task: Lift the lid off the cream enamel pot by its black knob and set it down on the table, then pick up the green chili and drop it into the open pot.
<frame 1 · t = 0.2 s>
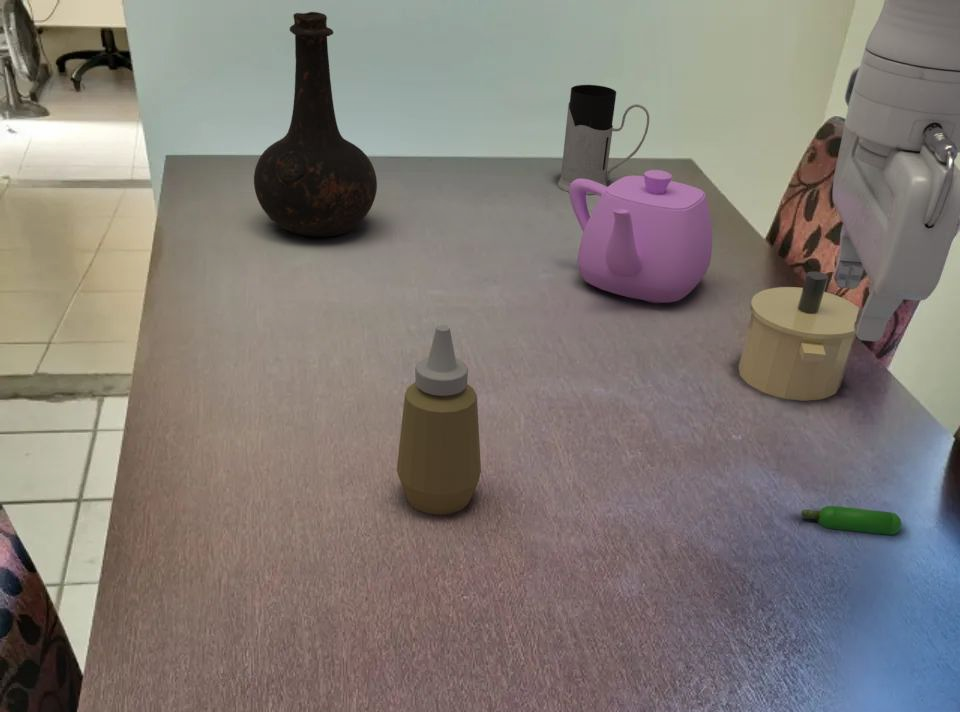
hand: (854, 309, 73), 25 cm above the table, tool pointing down, fingers open, 8 cm apart
pot: (787, 381, 119), on the table
glass holder: (597, 189, 170), on the table
lid: (806, 314, 113), point 8 cm above the table, touching pot
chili: (855, 531, 95), on the table
glass bottle: (318, 228, 149), on the table
squeeze bottle: (438, 504, 96), on the table
teapot: (638, 288, 138), on the table
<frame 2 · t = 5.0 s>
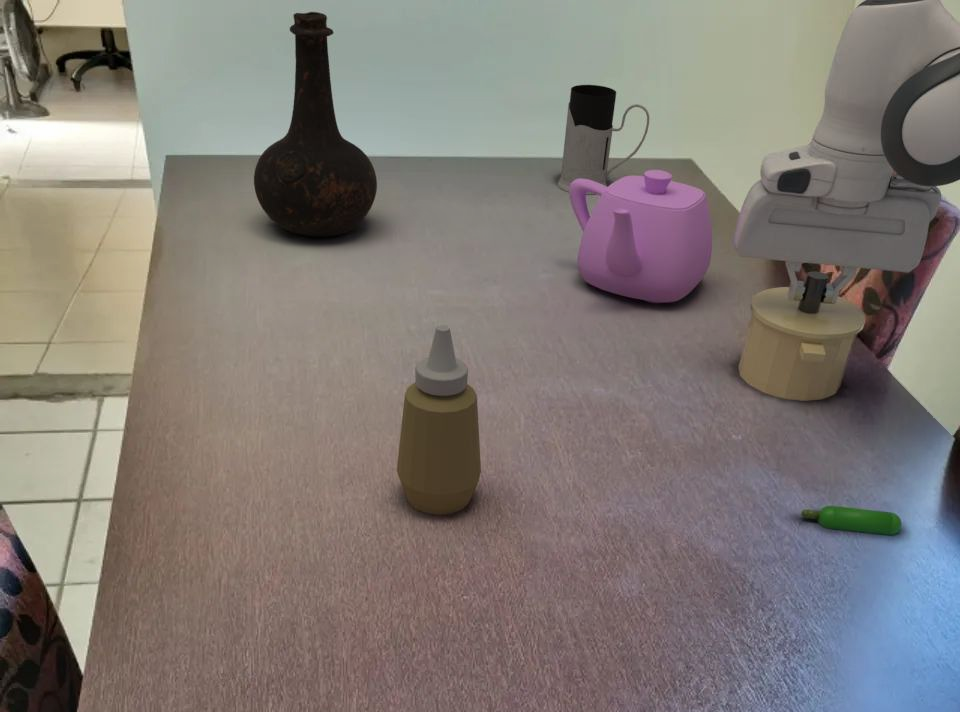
hand: (810, 300, 112), 10 cm above the table, tool pointing down, fingers closed on lid, 2 cm apart
lid: (806, 314, 113), point 9 cm above the table, touching gripper, pot
everything else where it was.
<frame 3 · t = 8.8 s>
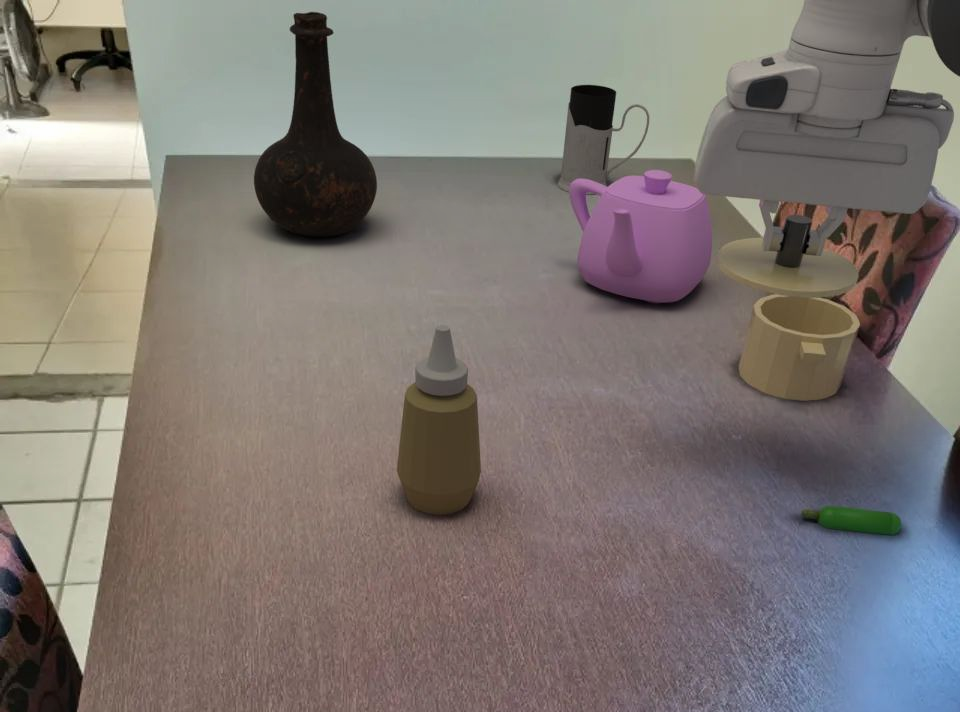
hand: (790, 251, 90), 22 cm above the table, tool pointing down, fingers closed on lid, 2 cm apart
lid: (785, 269, 91), point 20 cm above the table, touching gripper
everything else where it was.
when the fingers open (2 cm above the table, at t = 12.6 s): lid stays where it is, point 1 cm above the table.
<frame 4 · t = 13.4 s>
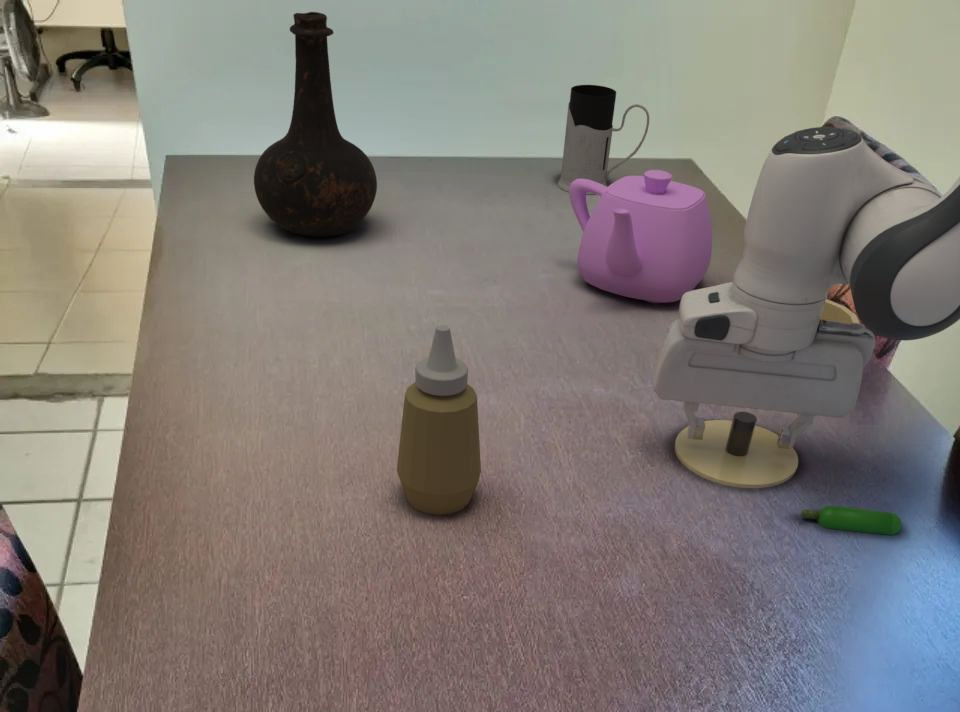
hand: (739, 441, 103), 2 cm above the table, tool pointing down, fingers open, 8 cm apart
lid: (735, 455, 104), point 1 cm above the table
everything else where it was.
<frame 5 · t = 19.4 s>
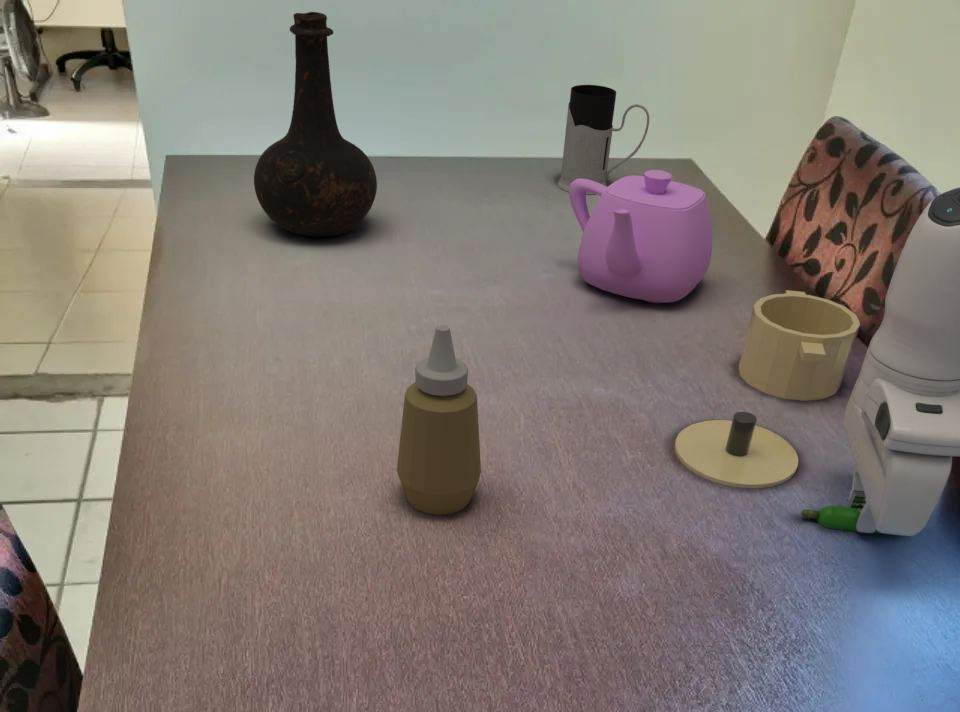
hand: (860, 517, 94), 2 cm above the table, tool pointing down, fingers closed on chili, 2 cm apart
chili: (854, 531, 95), on the table, touching gripper
everything else where it was.
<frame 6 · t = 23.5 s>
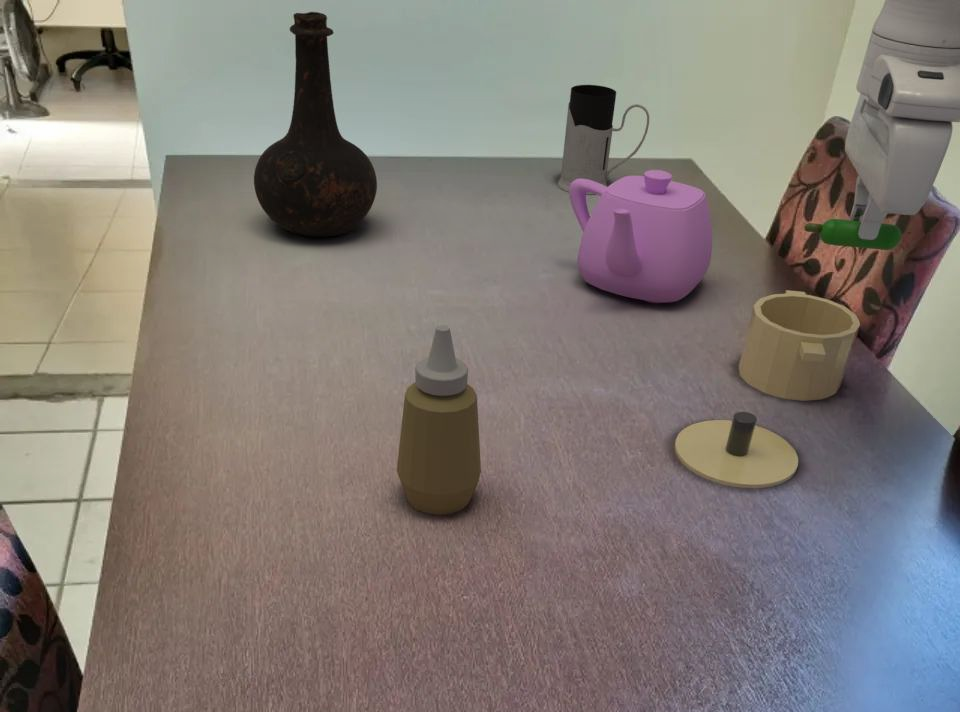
hand: (862, 230, 97), 21 cm above the table, tool pointing down, fingers closed on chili, 2 cm apart
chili: (856, 246, 98), point 20 cm above the table, touching gripper
everything else where it was.
when the fingers open (9 cm above the table, at t = 27.6 s): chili drops 5 cm and tips over, resting on pot.
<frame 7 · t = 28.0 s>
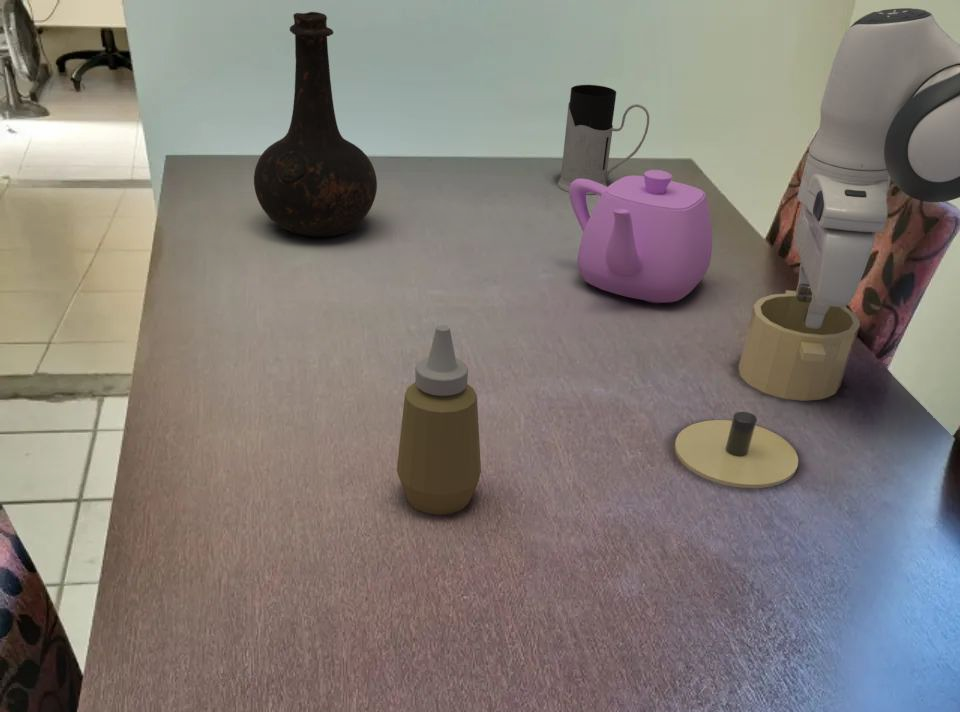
hand: (807, 312, 113), 9 cm above the table, tool pointing down, fingers open, 6 cm apart
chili: (778, 360, 117), point 3 cm above the table, tilted 41°, touching pot
everything else where it was.
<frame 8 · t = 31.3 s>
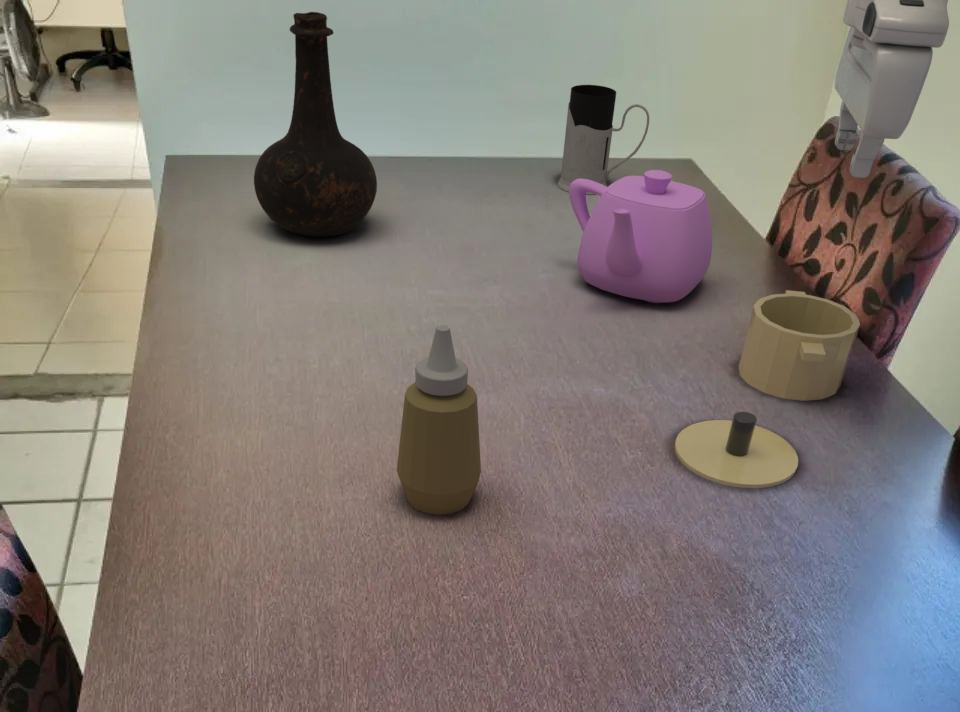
hand: (850, 161, 102), 25 cm above the table, tool pointing down, fingers open, 8 cm apart
nothing on the table moved.
at the end: lid inside the target area (0.1 cm from its centre), point 0.6 cm above the table; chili inside the target area in the pot (1.6 cm from its centre), point 2.6 cm above the pot's base; the gripper is holding nothing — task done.
